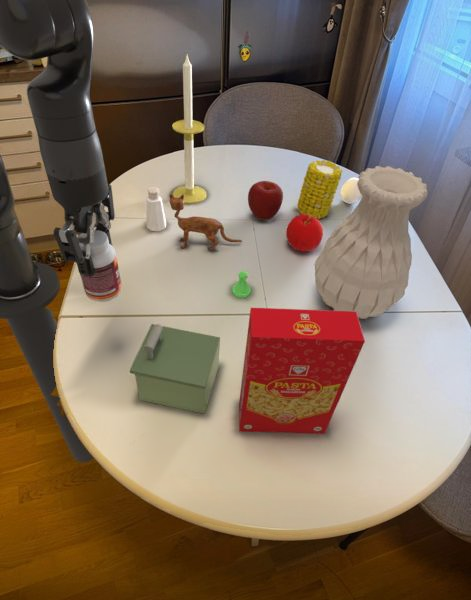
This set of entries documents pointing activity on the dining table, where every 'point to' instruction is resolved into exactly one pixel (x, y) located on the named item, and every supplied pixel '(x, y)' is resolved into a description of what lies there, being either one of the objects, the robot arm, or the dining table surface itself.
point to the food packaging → (296, 368)
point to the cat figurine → (197, 224)
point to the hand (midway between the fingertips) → (96, 260)
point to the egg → (350, 191)
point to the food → (319, 188)
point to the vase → (371, 245)
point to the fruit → (304, 232)
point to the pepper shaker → (155, 211)
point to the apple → (265, 199)
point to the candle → (188, 141)
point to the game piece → (242, 286)
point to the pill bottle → (102, 270)
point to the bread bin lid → (176, 356)
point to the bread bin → (177, 391)
